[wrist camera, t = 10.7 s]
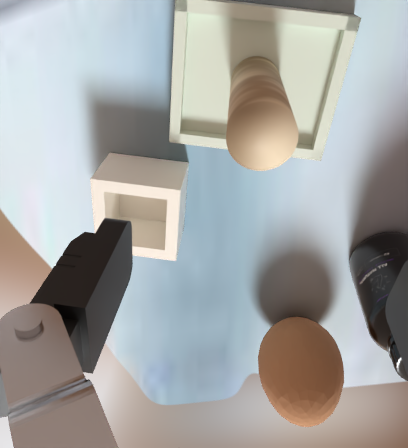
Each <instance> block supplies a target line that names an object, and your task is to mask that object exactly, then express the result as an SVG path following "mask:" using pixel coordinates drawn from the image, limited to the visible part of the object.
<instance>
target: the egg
mask: <svg viewBox="0 0 408 448" xmlns="http://www.w3.org/2000/svg"><path fill="white" fill-rule="evenodd" d="M258 364H259V375H260V379H261V383H262V387H263V389H264V391H265V393H266V395H267V397H268V399H269V401H270V402H271V404H272V405H273V407H274V408H275V409H276V410H277V412H278V413H279V414H280V415H281V416H282V417H283V418H285V419H286V420H288V421H289V422H290V423H293V424H296V425H298V426H302V427H311V426H315V425H318V424H320V423H322V422H324V421H325V420H326V419H327V418H328V417H329V416H330V415H331V414H332V413H333V411H334V409H335V408H336V405H337V404H338V402H339V399H340V395H341V392H342V388H343V383H344V370H343V362H342V358H341V354H340V351H339V349H338V346H337V344H336V342H335V340H334V339H333V337H332V336H331V335H330V334H329V332H328V331H327V330H325V329H324V328H323V327H322V326H321V325H319V324H318V323H317V322H314V321H312V320H310V319H308V318H303V317H289V318H286V319H283V320H281V321H279V322H277V323H276V324H275V325H273V326H272V327H271V328H270V329H269V331H268V332H267V333H266V335H265V336H264V338H263V340H262V343H261V345H260V350H259V355H258Z"/></svg>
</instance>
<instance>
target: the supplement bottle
mask: <svg viewBox="0 0 408 448" xmlns="http://www.w3.org/2000/svg"><path fill="white" fill-rule="evenodd" d="M407 260H408V235H407V234H403V233H398V232H386V233H380V234H377V235H374V236H372V237H369V238H367V239H366V240H364V241H363V242H361V243H360V244H359V245H358V246H357V247H356V248H355V250H354V251H353V253H352V255H351V258H350V263H349V267H350V272H351V275H352V279H353V282H354V286H355V289H356V292H357V295H358V299H359V302H360V305H361V309H362V312H363V315H364V318H365V322H366V325H367V328H368V331H369V334H370V336H371V338H372V339H373V341H374V342H375V343H376V344H377V345H378V346H380V347H381V348H382V349H384V350H386V351H387V352H388V353H389V356H390V358H391V359H392V362H393V365H394V368H395V370H396V371H397V373H398V375H400V376H401V378H403V379H405V380H406V381H408V375H407V372H406V370H405V367H404V364H403V362H402V359H401V356H400V354H399V351H398V348H397V346H396V343H395V340H394V338H393V335H392V332H391V330H390V327H389V324H388V322H387V319H386V313H385V307H386V301H387V298H388V296H389V294H390V292H391V290H392V288H393V286H394V283H395V281H396V279H397V277H398V275H399V273H400V271H401V269H402V267H403V265H404V263H405V262H406V261H407Z"/></svg>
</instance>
